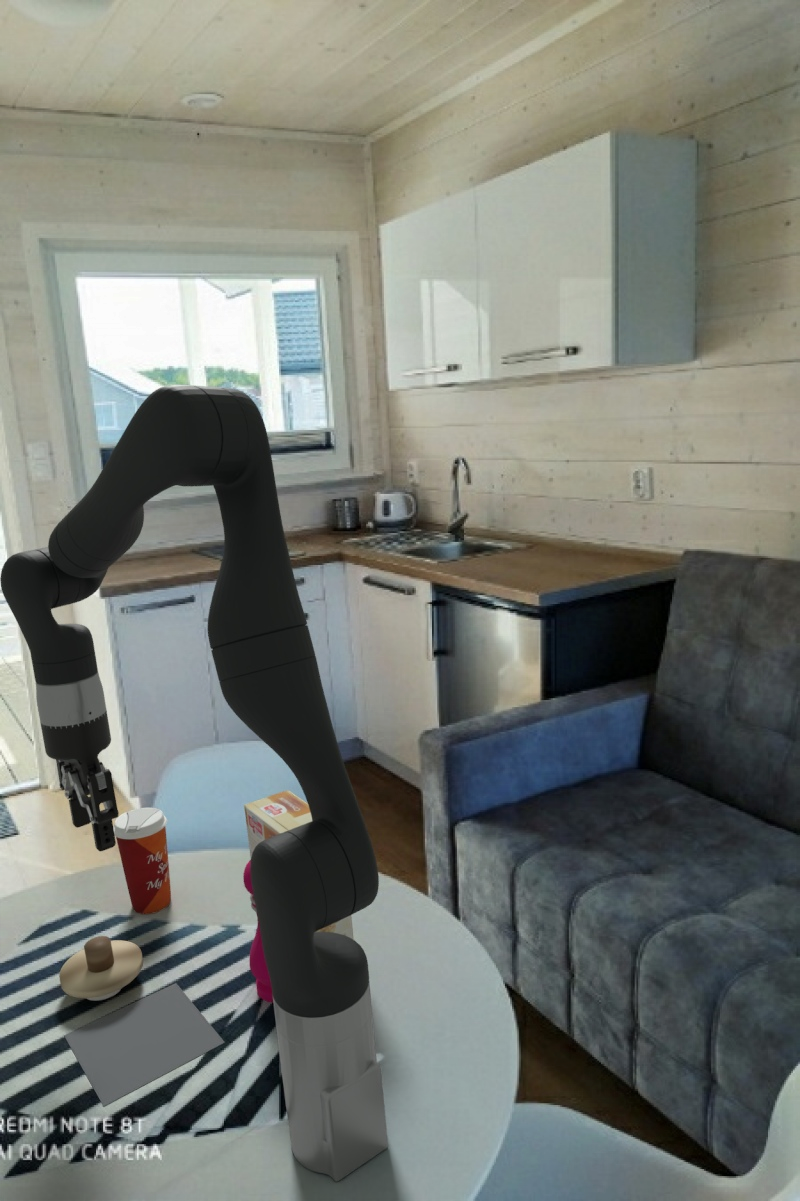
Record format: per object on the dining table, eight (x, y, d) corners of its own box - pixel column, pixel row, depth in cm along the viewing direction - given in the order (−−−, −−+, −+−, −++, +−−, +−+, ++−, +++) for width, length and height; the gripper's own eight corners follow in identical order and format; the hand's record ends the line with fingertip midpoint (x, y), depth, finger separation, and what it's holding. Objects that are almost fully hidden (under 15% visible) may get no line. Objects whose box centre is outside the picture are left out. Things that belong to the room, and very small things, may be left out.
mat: (225, 1046, 101) (224, 1042, 101) (104, 1110, 93) (103, 1106, 93) (176, 986, 112) (176, 982, 112) (64, 1039, 104) (64, 1035, 104)
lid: (154, 973, 111) (150, 945, 110) (73, 1009, 105) (68, 980, 104) (127, 937, 119) (123, 910, 118) (51, 969, 113) (45, 942, 112)
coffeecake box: (358, 964, 114) (345, 826, 109) (310, 987, 110) (294, 846, 106) (302, 913, 126) (289, 787, 122) (257, 933, 122) (241, 803, 118)
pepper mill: (315, 1001, 108) (298, 853, 103) (256, 1015, 106) (236, 865, 101) (307, 965, 114) (290, 825, 110) (251, 978, 113) (232, 836, 108)
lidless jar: (75, 1003, 111) (111, 1007, 110) (72, 983, 110) (108, 986, 109) (97, 978, 115) (132, 981, 114) (93, 958, 115) (128, 961, 114)
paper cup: (170, 917, 128) (157, 828, 124) (118, 920, 128) (103, 832, 125) (184, 887, 135) (172, 803, 132) (134, 890, 136) (121, 806, 132)
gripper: (125, 717, 102) (145, 845, 106) (84, 691, 113) (104, 807, 117) (59, 736, 98) (82, 869, 101) (24, 707, 109) (46, 827, 112)
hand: (94, 836), depth 109 cm, fingers open, 8 cm apart
